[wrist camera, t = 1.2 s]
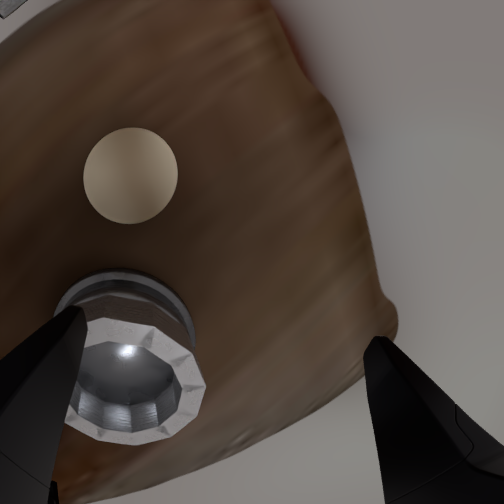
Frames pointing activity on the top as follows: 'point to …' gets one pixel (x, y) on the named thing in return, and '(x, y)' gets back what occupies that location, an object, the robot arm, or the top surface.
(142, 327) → the canister
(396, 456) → the robot arm
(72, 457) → the top surface
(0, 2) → the candy bar box
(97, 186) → the lid
